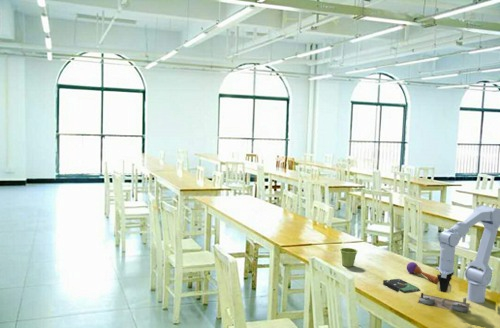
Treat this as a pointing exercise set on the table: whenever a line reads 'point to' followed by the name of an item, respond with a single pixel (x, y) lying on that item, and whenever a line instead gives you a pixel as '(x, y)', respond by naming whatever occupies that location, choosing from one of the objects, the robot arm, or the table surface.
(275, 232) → the table surface
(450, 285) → the brass gear
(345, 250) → the plant pot
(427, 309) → the table surface
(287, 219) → the table surface
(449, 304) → the gear board
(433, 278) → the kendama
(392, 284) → the disk drive
